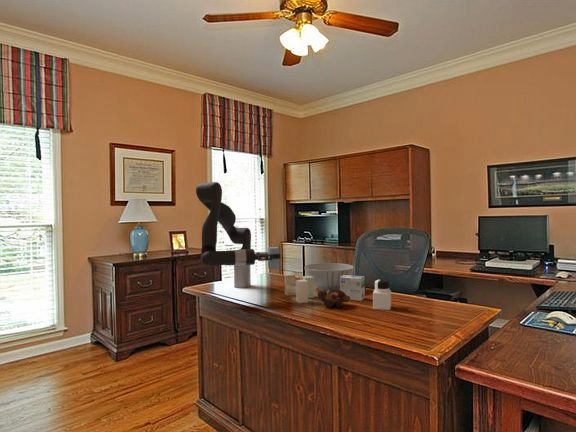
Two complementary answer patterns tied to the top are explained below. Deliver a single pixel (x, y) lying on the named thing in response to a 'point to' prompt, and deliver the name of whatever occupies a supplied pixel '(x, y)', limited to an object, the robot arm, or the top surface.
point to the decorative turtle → (333, 297)
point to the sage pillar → (310, 285)
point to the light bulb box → (353, 287)
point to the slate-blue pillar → (274, 262)
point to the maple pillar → (290, 284)
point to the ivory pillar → (302, 291)
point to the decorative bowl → (328, 274)
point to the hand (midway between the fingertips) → (278, 255)
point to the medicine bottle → (382, 295)
